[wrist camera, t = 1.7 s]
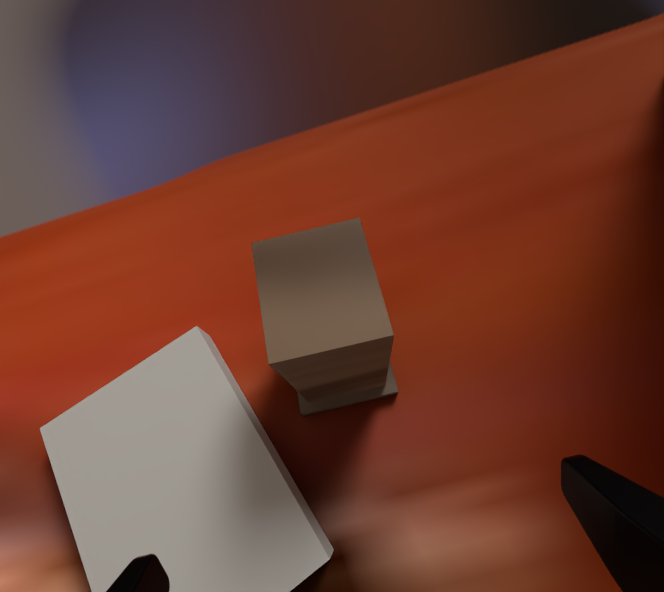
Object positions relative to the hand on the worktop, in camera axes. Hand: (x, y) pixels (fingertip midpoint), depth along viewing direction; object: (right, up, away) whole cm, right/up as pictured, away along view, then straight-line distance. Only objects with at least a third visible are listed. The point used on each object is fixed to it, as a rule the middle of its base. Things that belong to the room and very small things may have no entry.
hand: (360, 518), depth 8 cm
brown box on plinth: (0, +1, +15) cm, 15 cm away
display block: (-9, -6, +13) cm, 16 cm away
